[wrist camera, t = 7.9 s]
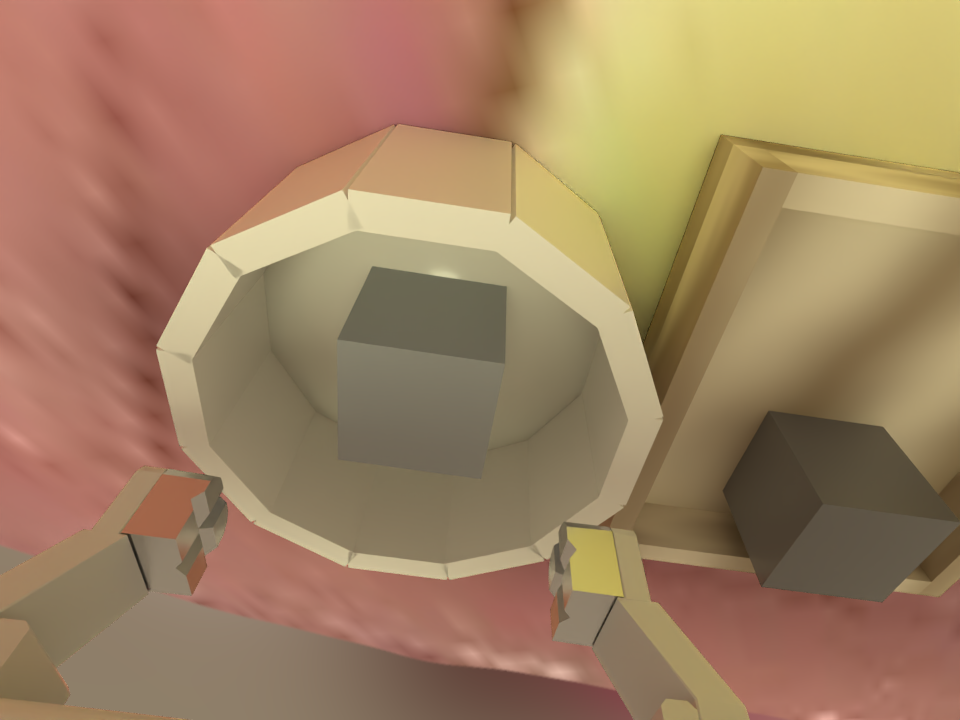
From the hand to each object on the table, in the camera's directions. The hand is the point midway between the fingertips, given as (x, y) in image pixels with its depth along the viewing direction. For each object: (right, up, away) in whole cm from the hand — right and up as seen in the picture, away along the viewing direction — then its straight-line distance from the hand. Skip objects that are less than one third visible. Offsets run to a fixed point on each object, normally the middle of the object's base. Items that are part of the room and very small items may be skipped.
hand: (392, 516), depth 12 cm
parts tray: (+14, +3, +7) cm, 16 cm away
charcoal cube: (+13, 0, +8) cm, 16 cm away
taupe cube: (0, +4, +6) cm, 7 cm away
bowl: (0, +5, +7) cm, 8 cm away
